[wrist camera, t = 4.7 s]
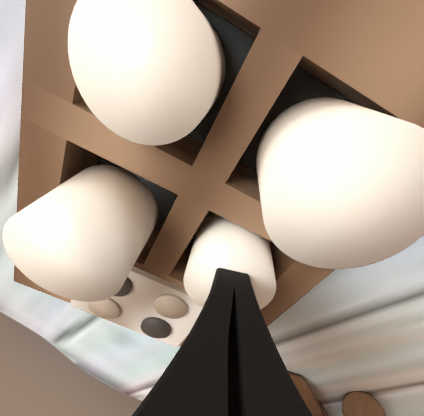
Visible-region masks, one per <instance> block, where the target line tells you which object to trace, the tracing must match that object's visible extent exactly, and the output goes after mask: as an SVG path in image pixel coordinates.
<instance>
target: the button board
mask: <svg viewBox="0 0 424 416" xmlns="http://www.w3.org/2000/svg"><path fill="white" fill-rule="evenodd" d="M196 1H197V2H199V3H200V4H202V5H204V6H205V7H207V8H208V9H210V10H211V11H213V12H215V13H216V14H218V15H219V16H221V17H222V18H224V19H225V20H227V21H229V22H230V23H232V24H233V25H235V26H236V27H238V28H240V29H241V30H243V31H244V32H246V33H247V34H249V35H250V36H252V37H254V38H255V41H254V43H253V45H252V47H251V49H250V51H249V53H248V55H247V57H246V59H245V61H244V63H243V65H242V67H241V69H240V71H239V73H238V75H237V77H236V79H235V81H234V83H233V85H232V87H231V89H230V91H229V93H228V95H227V97H226V99H225V101H224V103H223V105H222V107H221V109H220V111H219V113H218V115H217V117H216V119H215V121H214V123H213V125H212V128H211V130H210V132H209V134H208V136H207V138H206V140H205V142H204V144H203V143H201V142H199V141H198V140H196V139H194V138H192V137H190V136H188V135H186V136H185V137H183V138H181V139H179V140H177V141H175V142H172V143H169V144H165V145H156V146H153V145H143V144H138V143H135V142H131V141H129V140H127V139H124V138H122V137H121V136H119V135H117V134H115V133H114V132H113V131H111V130H110V129H108V128H107V127H106V126H105V125H104V124H103V123H102V122H101V121H100V120H99V119H98V118H97V117H96V116H95V115H94V114H93V113H92V111H91V110H90V108H89V107H88V106H87V104H86V103H85V101H84V99H83V98H82V96H81V94H80V92H79V90H78V88H77V85H76V83H75V80H74V77H73V74H72V70H71V66H70V61H69V55H68V29H69V23H70V18H71V15H72V12H73V9H74V6H75V4H76V2H77V0H26V13H25V36H24V59H23V82H22V105H21V128H20V152H19V175H18V198H17V213H18V212H19V211H21V210H22V209H24V208H25V207H27V206H28V205H30V204H32V203H33V202H35V201H36V200H38V199H39V198H41V197H42V196H44V195H45V194H47V193H49V192H50V191H52V190H53V189H55V188H56V187H58V186H59V185H61V184H62V183H64V182H66V181H67V180H69V179H70V178H72V177H73V176H75V175H76V174H78V173H79V172H81V171H83V170H84V169H86V168H88V167H91V166H95V165H96V164H97V160H98V156H100V157H102V158H104V159H106V160H108V161H110V162H112V163H114V164H116V165H119V166H121V167H123V168H125V169H127V170H129V171H131V172H133V173H135V174H137V175H139V176H141V177H143V178H145V179H147V180H149V181H151V182H153V183H155V184H157V185H159V186H161V187H163V188H165V189H167V190H169V191H171V192H173V193H175V194H177V195H178V196H177V198H176V200H175V202H174V204H173V206H172V208H171V210H170V212H169V214H168V216H167V218H166V220H165V222H164V224H163V226H162V228H161V229H159V228H157V227H155V228H154V229H153V231H152V233H151V235H150V237H149V239H148V240H147V242H146V244H145V246H144V248H143V249H142V251H141V253H140V255H139V257H138V259H137V260H136V262H135V264H134V266H133V268H132V269H131V271H130V273H129V275H128V277H127V278H126V280H125V282H124V284H123V286H122V287H121V289H120V290H119V292H118V293H117V294H115V295H114V296H112V297H110V298H108V299H105V300H102V301H95V302H84V301H77V300H71V299H68V298H64V297H61V296H59V295H56V294H54V293H52V292H49V291H47V290H46V289H44V288H42V287H40V286H39V285H37V284H36V283H34V282H33V281H31V280H30V279H29V278H28V277H26V276H25V275H24V274H23V273H22V272H21V271H20V270H19V269H18V268H17V267H16V266H15V267H14V281H15V282H18V283H21V284H23V285H26V286H28V287H31V288H33V289H36V290H38V291H41V292H44V293H46V294H49V295H51V296H54V297H56V298H59V299H61V300H64V301H67V302H69V303H70V306H73V307H75V308H78V309H80V310H83V311H85V312H88V313H91V314H93V315H96V316H98V317H101V318H103V319H106V320H109V321H111V322H114V323H116V324H119V325H121V326H124V327H127V328H129V329H132V330H134V331H137V332H139V333H142V334H145V335H147V336H150V337H152V338H155V339H157V340H160V341H162V342H165V343H168V344H170V345H173V346H175V347H178V346H182V344H183V342H184V341H185V339H186V337H187V336H188V334H189V332H190V331H191V329H192V327H193V325H194V323H195V322H196V320H197V318H198V316H199V314H200V312H201V310H202V307H201V306H199V305H198V304H196V303H195V302H194V301H193V300H192V299H191V298H190V297H189V295H188V294H187V292H186V290H185V287H184V281H183V279H184V274H185V270H186V267H187V263H188V260H189V256H190V253H191V249H192V246H193V244H191V243H189V242H190V240H191V239H192V237H193V235H194V234H195V232H196V230H197V229H198V227H199V226H200V224H201V222H202V221H203V219H204V217H205V216H206V214H207V212H208V211H211V212H213V213H215V214H217V215H219V216H221V217H223V218H225V219H227V220H229V221H231V222H233V223H235V224H237V225H239V226H241V227H243V228H245V229H247V230H249V231H251V232H253V233H256V234H258V235H260V236H262V237H264V238H266V239H268V240H270V247H271V254H272V260H273V267H274V273H275V280H276V292H275V295H274V297H273V299H272V300H271V302H270V303H269V304H268V305H266V306H265V307H264V308H262V309H260V310H261V313H262V315H263V318H264V320H265V323H266V325H267V326H268V325H269V324H271V323H272V322H273V321H274V320H275V319H277V318H278V317H279V316H280V315H281V314H282V313H284V312H285V311H286V310H287V309H288V308H290V307H291V306H292V305H293V304H294V303H296V302H297V301H298V300H299V299H300V298H301V297H303V296H304V295H305V294H306V293H307V292H309V291H310V290H311V289H312V288H313V287H315V286H316V285H317V284H318V283H319V282H320V281H322V280H323V279H324V278H325V277H326V276H328V275H329V274H330V273H331V272H332V271H334V270H335V269H326V268H319V267H313V266H310V265H306V264H303V263H301V262H298V261H296V260H294V259H292V258H290V257H289V256H287V255H286V254H285V253H283V252H282V251H281V250H280V249H279V248H278V247H277V246H276V245H275V244H274V243H273V241H272V240H271V239H270V237H269V235H268V233H267V231H266V228H265V225H264V221H263V215H262V207H261V200H260V192H259V184H258V176H257V172H255V171H253V170H251V169H249V168H247V167H246V166H244V165H242V164H240V163H238V161H239V160H240V158H241V157H242V155H243V153H244V152H245V150H246V148H247V147H248V145H249V143H250V142H251V140H252V139H253V137H254V135H255V134H256V132H257V130H258V129H259V127H260V125H261V124H262V122H263V120H264V119H265V117H266V116H267V114H268V112H269V111H270V109H271V107H272V106H273V104H274V102H275V101H276V99H277V97H278V96H279V94H280V93H281V91H282V89H283V88H284V86H285V84H286V83H287V81H288V79H289V78H290V76H291V74H292V73H293V71H294V70H295V68H296V66H299V67H300V68H302V69H304V70H305V71H307V72H308V73H310V74H311V75H313V76H314V77H316V78H318V79H319V80H321V81H322V82H324V83H325V84H327V85H329V86H330V87H332V88H333V89H335V90H336V91H338V92H339V93H341V94H343V95H344V96H346V97H347V98H349V99H350V100H352V101H354V102H355V103H357V104H358V105H360V106H363V107H366V108H369V109H372V110H375V111H377V112H380V113H383V114H386V115H389V116H392V117H395V118H398V119H401V120H404V121H407V122H410V123H413V124H416V125H418V126H420V127H422V128H424V0H196Z"/></svg>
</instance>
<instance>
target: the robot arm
mask: <svg viewBox="0 0 424 416" xmlns="http://www.w3.org/2000/svg"><path fill="white" fill-rule="evenodd" d="M132 416H313V415H312V413H311V412H310V410H309V408H308V407H307V405H306V403H305V402H304V400H303V398H302V396H301V395H300V393H299V391H298V389H297V387H296V386H295V384H294V382H293V380H292V378H291V376H290V374H289V372H288V371H287V369H286V367H285V365H284V363H283V361H282V359H281V357H280V355H279V352H278V350H277V348H276V346H275V344H274V342H273V339H272V337H271V335H270V332H269V330H268V328H267V325H266V323H265V320H264V318H263V315H262V313H261V310H260V307H259V305H258V302H257V299H256V296H255V293H254V290H253V287H252V283H251V280H250V276H249V275H248V274H246V273H242V272H237V271H233V270H228V269H224V268H217V269H216V272H215V276H214V279H213V283H212V286H211V290H210V293H209V295H208V297H207V300H206V302H205V304H204V306H203V308H202V310H201V312H200V314H199V316H198V318H197V320H196V322H195V323H194V325H193V327H192V329H191V331H190V332H189V334H188V336H187V337H186V339H185V341H184V342H183V344H182V346H181V347H180V349H179V350H178V352H177V354H176V355H175V357H174V358H173V360H172V361H171V363H170V364H169V366H168V367H167V368H166V370H165V371H164V373H163V374H162V376H161V377H160V379H159V380H158V381H157V383H156V384H155V386H154V387H153V388H152V390H151V391H150V392H149V394H148V395H147V396H146V398H145V399H144V400H143V402H142V403H141V404H140V406H139V407H138V408H137V410H136V411H135V412H134V414H133V415H132Z"/></svg>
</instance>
